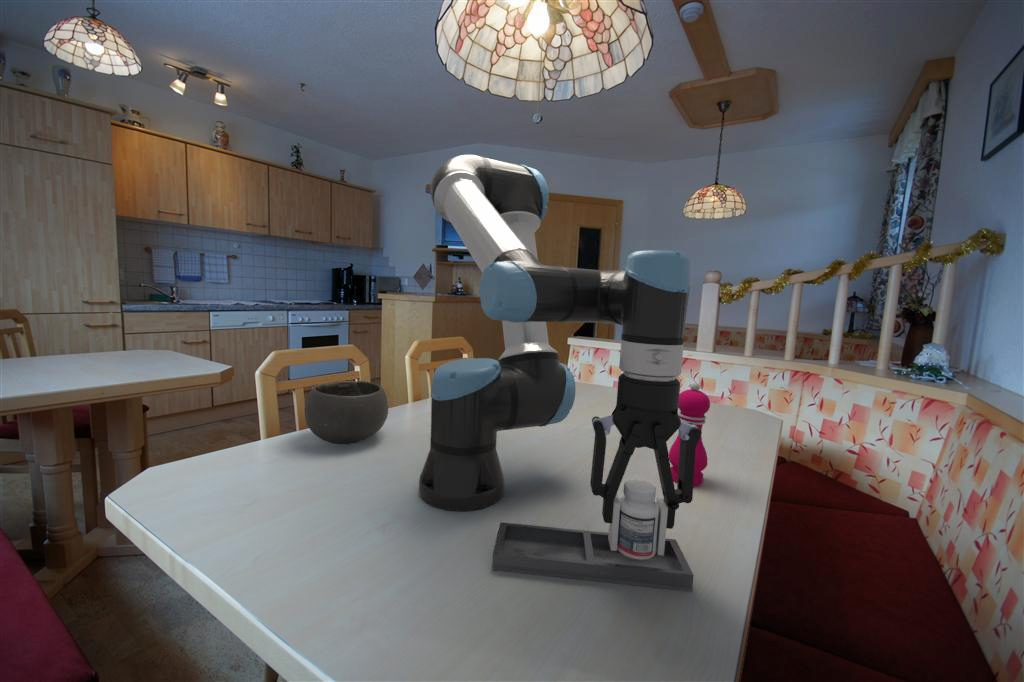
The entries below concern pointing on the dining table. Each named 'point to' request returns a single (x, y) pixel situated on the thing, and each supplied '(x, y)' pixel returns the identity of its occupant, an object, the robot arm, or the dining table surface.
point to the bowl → (346, 411)
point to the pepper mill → (693, 411)
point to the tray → (585, 557)
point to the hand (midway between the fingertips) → (635, 546)
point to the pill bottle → (638, 520)
